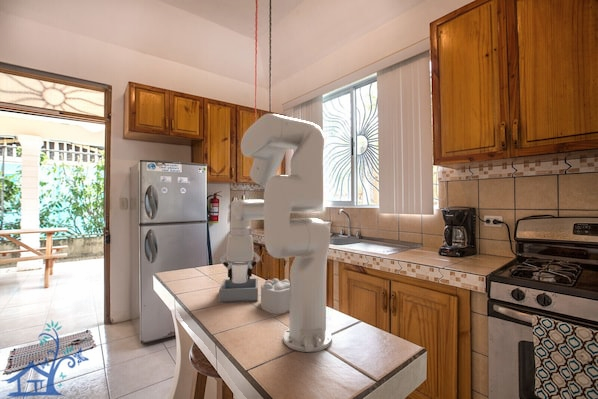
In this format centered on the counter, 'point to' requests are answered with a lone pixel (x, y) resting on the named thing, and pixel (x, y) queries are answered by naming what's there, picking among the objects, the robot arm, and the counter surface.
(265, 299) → the lumpy-topped squat cylinder
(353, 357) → the counter surface
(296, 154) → the robot arm
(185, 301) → the counter surface
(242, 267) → the white cylinder
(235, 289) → the bin
